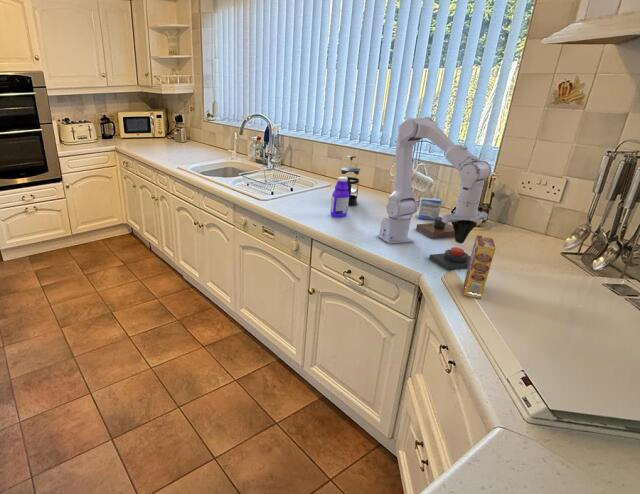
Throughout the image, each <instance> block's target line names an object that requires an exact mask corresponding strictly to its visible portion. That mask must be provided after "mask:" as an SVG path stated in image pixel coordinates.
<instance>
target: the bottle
mask: <svg viewBox="0 0 640 494" xmlns="http://www.w3.org/2000/svg"><path fill="white" fill-rule="evenodd" d="M347 177H348V176H338V177H337V181H336V185H334V190H333V192H332V194H331V203H330V212H329V213H330V216H331V217H333V218H336V219H337V218H339V219H340V218H345V217H347V215H348V208H349V206H348V202H349V192H348V189H349V187H348V185H347V180H348V178H347Z"/></svg>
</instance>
